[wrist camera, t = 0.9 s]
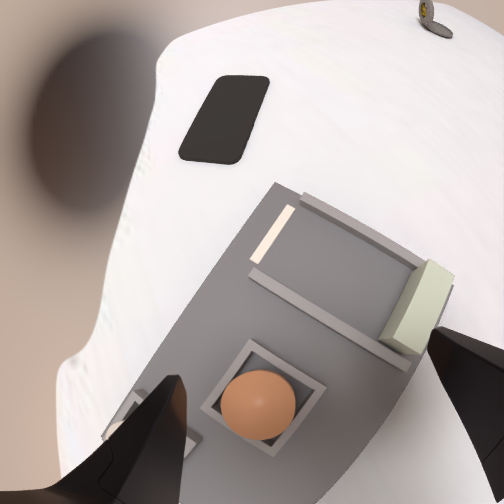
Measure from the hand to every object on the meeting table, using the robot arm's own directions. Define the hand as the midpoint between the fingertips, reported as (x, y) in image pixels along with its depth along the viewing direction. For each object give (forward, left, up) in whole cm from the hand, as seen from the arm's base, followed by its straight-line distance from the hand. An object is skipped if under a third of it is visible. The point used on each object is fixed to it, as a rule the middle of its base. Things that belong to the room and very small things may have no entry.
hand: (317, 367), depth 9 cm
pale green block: (-5, -7, -12) cm, 15 cm away
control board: (+1, +3, -14) cm, 14 cm away
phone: (+21, -18, -14) cm, 31 cm away
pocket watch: (+4, -64, -14) cm, 65 cm away
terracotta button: (+1, +4, -10) cm, 11 cm away
